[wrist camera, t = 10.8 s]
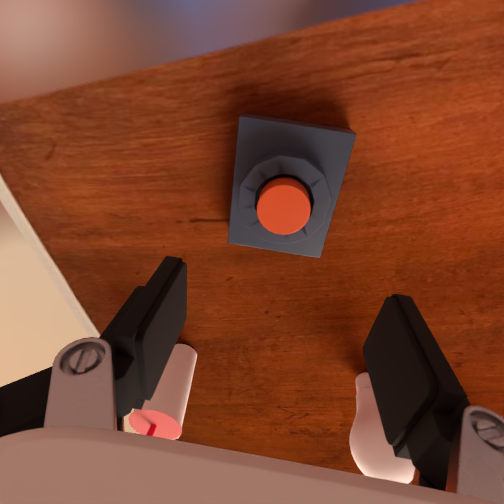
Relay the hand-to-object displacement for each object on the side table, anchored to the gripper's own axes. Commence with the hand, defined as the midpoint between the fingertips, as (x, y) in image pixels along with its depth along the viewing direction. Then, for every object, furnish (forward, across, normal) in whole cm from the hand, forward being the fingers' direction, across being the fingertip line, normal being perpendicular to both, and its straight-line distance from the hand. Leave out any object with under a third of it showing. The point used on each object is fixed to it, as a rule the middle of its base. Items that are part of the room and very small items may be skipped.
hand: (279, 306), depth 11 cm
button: (+11, 0, 0) cm, 11 cm away
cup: (+15, +8, +23) cm, 29 cm away
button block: (+15, 0, 0) cm, 15 cm away
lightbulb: (+15, -14, +21) cm, 29 cm away
